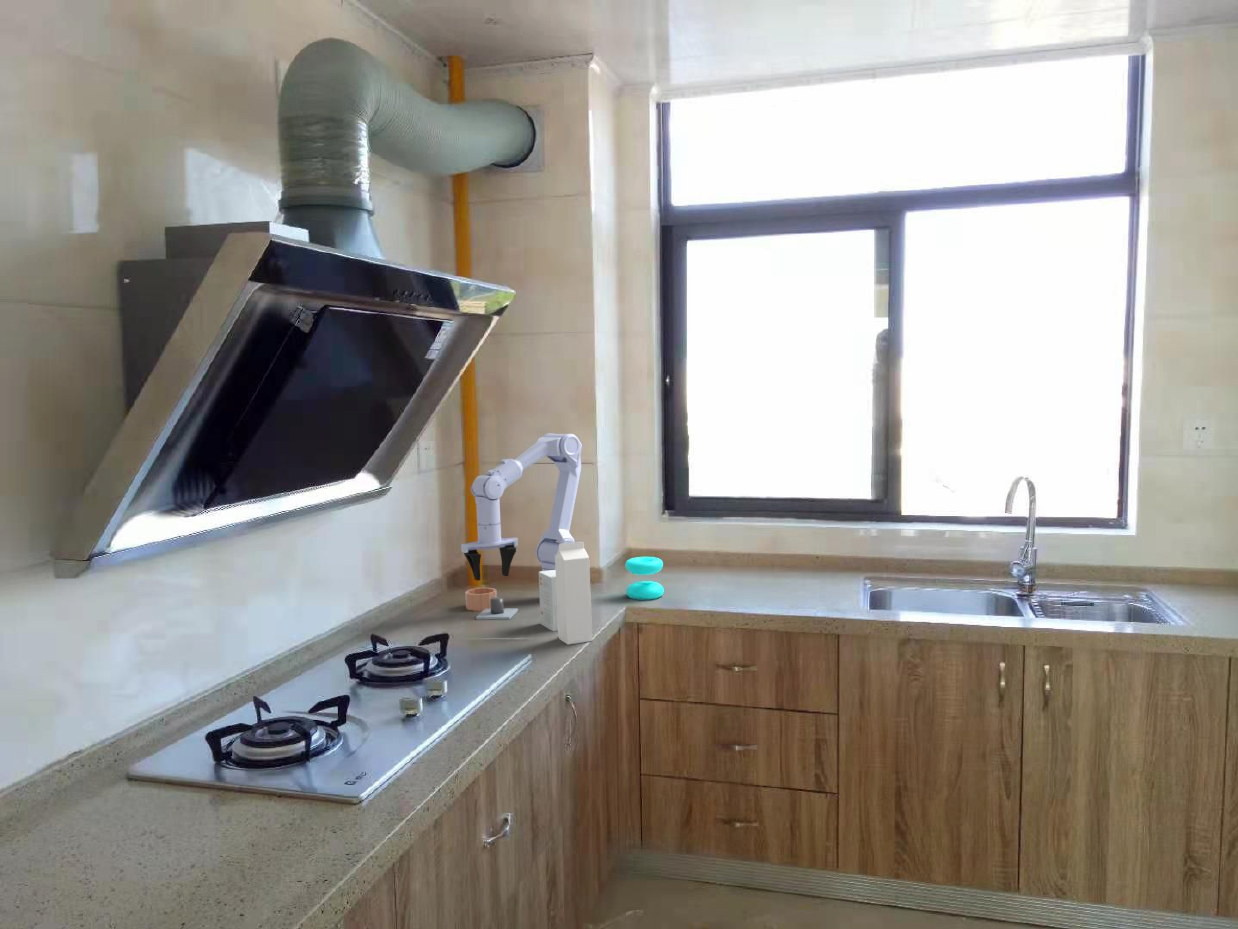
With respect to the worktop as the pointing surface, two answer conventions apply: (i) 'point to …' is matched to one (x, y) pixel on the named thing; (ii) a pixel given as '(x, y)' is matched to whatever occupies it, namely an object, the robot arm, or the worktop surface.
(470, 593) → the bowl
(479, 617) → the lid
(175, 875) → the worktop surface
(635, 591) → the donuts
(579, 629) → the milk
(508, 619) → the mat
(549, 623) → the small box
